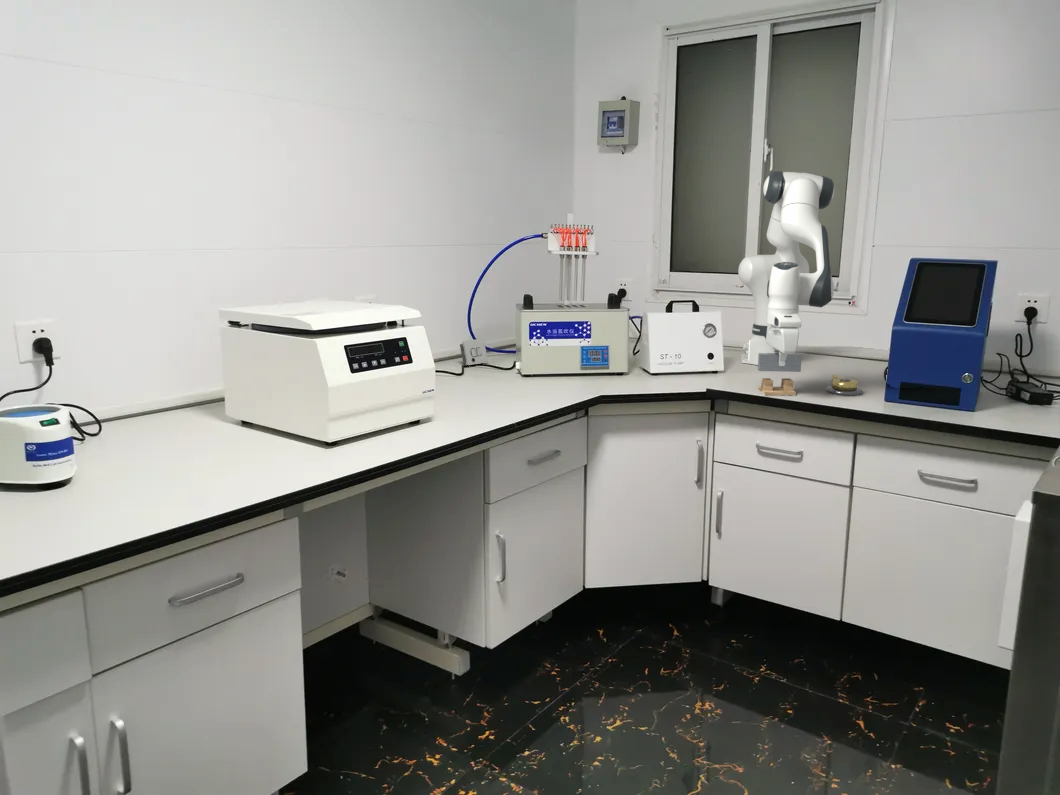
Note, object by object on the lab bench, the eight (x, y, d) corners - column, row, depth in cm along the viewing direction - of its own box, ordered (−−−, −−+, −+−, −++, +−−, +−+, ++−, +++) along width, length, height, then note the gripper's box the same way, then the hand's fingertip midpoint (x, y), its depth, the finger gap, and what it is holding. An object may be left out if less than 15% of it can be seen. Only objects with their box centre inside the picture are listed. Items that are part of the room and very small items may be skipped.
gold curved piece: (822, 382, 248) (823, 374, 247) (845, 382, 247) (846, 374, 247) (836, 390, 236) (837, 381, 235) (860, 391, 235) (861, 382, 235)
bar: (757, 369, 239) (758, 352, 238) (798, 369, 238) (799, 353, 237) (759, 371, 236) (760, 354, 235) (800, 371, 235) (801, 355, 234)
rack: (758, 389, 243) (759, 376, 242) (787, 389, 243) (788, 377, 242) (764, 395, 235) (765, 382, 234) (795, 395, 235) (796, 382, 234)
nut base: (821, 388, 244) (822, 385, 244) (854, 389, 244) (854, 385, 244) (832, 395, 234) (833, 392, 234) (867, 396, 234) (867, 392, 234)
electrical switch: (468, 367, 281) (466, 341, 279) (459, 366, 285) (457, 340, 283) (488, 364, 287) (486, 338, 286) (479, 363, 291) (478, 338, 289)
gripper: (762, 314, 244) (759, 358, 247) (781, 322, 224) (777, 370, 227) (783, 314, 244) (780, 358, 247) (803, 322, 224) (800, 370, 227)
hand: (779, 364), depth 237 cm, fingers closed on bar, 3 cm apart
